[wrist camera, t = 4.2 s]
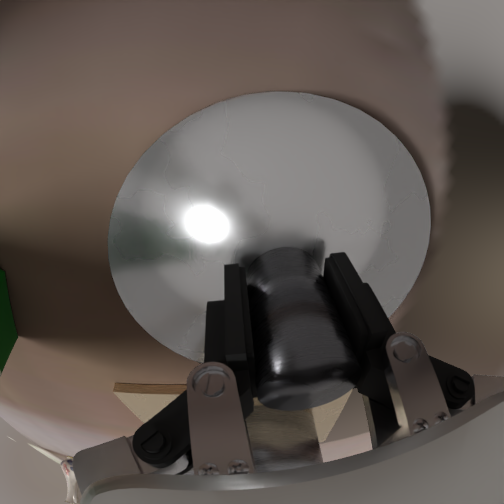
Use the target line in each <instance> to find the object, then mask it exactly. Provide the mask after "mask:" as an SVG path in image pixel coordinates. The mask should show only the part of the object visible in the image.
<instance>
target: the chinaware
mask: <svg viewBox="0 0 504 504" xmlns="http://www.w3.org/2000/svg"><path fill="white" fill-rule="evenodd" d="M72 462H73V457H69V456H67V459H66V460H64V461H62V462H61V467H62V470H63V472H64V474H65V477H66V480H67V485H68V495H67V498H66V501H67V502H69V503H70V504H80V501H81V498H82V495H81V492H80V489H79V486H78V484H77V481H76V478H75V474H74V471H73V466H72Z"/></svg>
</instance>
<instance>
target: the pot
mask: <svg viewBox="0 0 504 504" xmlns="http://www.w3.org/2000/svg"><path fill="white" fill-rule="evenodd" d="M186 389H187V385H142V384H121V383H115V385H114V390H113V392H114V393H115V395H116V396H117V397H118V398H119V399H120V400H121V401H122V402H123V403H124V404H125V405H126V406H127V407H128V408H129V409H130V410H131V411H132V412H133V413H134V414H135V415H136V416H137V417H138V418H139V419H140V420H141V421H142V422H143V423H146V422H147V421H148V420H150V419H151V418H152V417H153V416H155V415H156V414H157V413H158V412H160V411H161V410H162V409H163V408H165V407H166V406H167V405H168V404H169V403H171V402H172V401H173V400H174V399H176V398H177V397H178V396H179V395H180V394H182V393H183V392H184V391H185V390H186ZM352 390H353V389H351V390H350V391H349V392H347V393H346V394H345V395H343V396H341V397H340V398H338V399H336V400H334V401H332V402H329V403H327V404H324V405H321V406H318V407H314V408H310V409H304V410H296V411H282V410H275V409H271V408H268V407H266V406H264V405H262V404H261V403H260V402H259V400H258V397H256V398H253V400H254V405H253V407H254V411H253V412H252V413H251V414H250V415H249V416H248V417H247V418H246V423H247V428H248V433H249V437H250V442H251V447H252V451H253V456H254V461H255V465H256V470H257V473H262V472H271V471H279V470H287V469H293V468H299V467H305V466H310V465H316V464H320V463H323V459H322V454H321V450H320V445H319V443H320V442H324V441H325V440H326V438H327V437H328V435H329V433H330V431H331V430H332V428H333V426H334V424H335V423H336V421H337V419H338V417H339V415H340V414H341V412H342V410H343V408H344V406H345V404H346V402H347V400H348V398H349V396H350V394H351V392H352ZM183 475H194V467H193V468H192V469H191V470H190V471H188V472H187V473H185V474H183Z"/></svg>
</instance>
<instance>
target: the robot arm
mask: <svg viewBox="0 0 504 504" xmlns="http://www.w3.org/2000/svg"><path fill="white" fill-rule="evenodd" d="M323 278H324V280H325V282H326V285H327V287H328V289H329V292H330V294H331V296H332V299H333V301H334V303H335V306H336V308H337V311H338V313H339V315H340V318H341V320H342V323H343V325H344V328H345V330H346V333H347V335H348V338H349V340H350V343H351V345H352V348H353V350H354V353H355V356H356V358H357V361H358V364H359V366H360V369H361V377H360V380H359V381H358V383H357V384H356V385H355V386H354V387H353V388H352V389H354V388H357V389H358V392H359V393H361V394H363V401H364V405H365V410H366V415H367V420H368V425H369V431H370V436H371V442H372V448H373V450H370V451H367V452H364V453H360V454H357V455H353V456H350V457H346V458H342V459H338V460H334V461H330V462H325V463H320V464H316V465H310V466H305V467H299V468H293V469H287V470H279V471H271V472H262V473H257V470H256V465H255V461H254V456H253V451H252V447H251V442H250V437H249V433H248V428H247V423H246V418H247V417H248V416H249V415H250V414H251V413H252V412H253V411H254V407H253V405H254V400H253V398H256V397H257V389H256V380H255V376H256V366H255V356H254V347H253V338H252V329H251V319H250V310H249V300H248V290H247V281H246V271H245V266H244V267H239V263H235V264H225V265H224V300H218V301H207V306H206V325H205V348H204V363H203V364H200V365H199V366H197V367H195V368H194V369H193V370H192V371H191V372H190V374H189V376H188V378H187V389H186V390H185V391H184V392H183V393H182V394H180V395H179V396H178V397H177V398H176V399H174V400H173V401H172V402H171V403H169V404H168V405H167V406H166V407H165V408H163V409H162V410H161V411H160V412H158V413H157V414H156V415H155V416H153V417H152V418H151V419H150V420H148V421H147V422H146V423H144V424H143V425H142V426H141V427H140V428H139V429H138V430H137V431H136V432H135V434H134V435H133V436H130V437H125V436H123V437H120V438H118V439H115V440H112V441H109V442H106V443H103V444H100V445H97V446H94V447H91V448H87V449H84V450H81V451H79V452H78V453H76V455H75V456H74V458H73V462H72V466H73V471H74V474H75V478H76V481H77V484H78V486H79V489H80V492H81V495H82V498H81V501H80V504H504V377H503V376H487V375H473V376H472V377H471V376H470V375H469V374H468V373H467V372H466V371H464V370H462V369H460V368H457V367H455V366H452V365H450V364H448V363H445V362H443V361H441V360H438V359H436V358H434V357H431V356H429V355H428V354H427V351H426V349H425V347H424V344H423V343H422V341H421V340H420V339H419V338H418V337H417V336H415V335H413V334H411V333H407V332H399V333H396V332H395V330H394V328H393V326H392V324H391V323H390V321H389V319H388V317H387V315H386V313H385V312H384V310H383V308H382V306H381V304H380V302H379V301H378V299H377V297H376V295H375V294H374V292H373V290H372V288H371V287H370V285H369V284H368V283H363V282H362V280H361V278H360V276H359V275H358V273H357V271H356V269H355V268H354V266H353V264H352V263H351V261H350V259H349V258H348V256H347V254H346V253H345V252H338V253H331V254H330V255H329V257H328V258H325V263H324V273H323ZM193 467H194V475H183V474H185V473H187V472H188V471H190V470H191V469H192V468H193Z"/></svg>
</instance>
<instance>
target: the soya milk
mask: <svg viewBox="0 0 504 504" xmlns="http://www.w3.org/2000/svg"><path fill="white" fill-rule="evenodd" d="M17 338H18V335H17V331H16V327H15V323H14V319H13V315H12V310H11V305H10V300H9V295H8V289H7V283H6V276H5V271H3V270H1V269H0V376H1V374H2V371H3V369H4V366H5V364H6V362H7V360H8V357H9V355H10V353H11V351H12V349H13V347H14V344H15V342H16V340H17Z"/></svg>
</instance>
